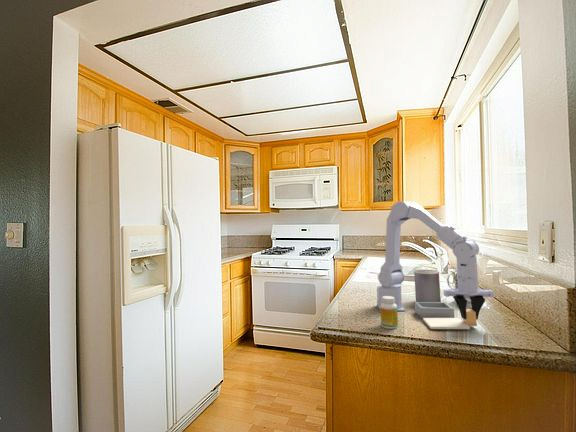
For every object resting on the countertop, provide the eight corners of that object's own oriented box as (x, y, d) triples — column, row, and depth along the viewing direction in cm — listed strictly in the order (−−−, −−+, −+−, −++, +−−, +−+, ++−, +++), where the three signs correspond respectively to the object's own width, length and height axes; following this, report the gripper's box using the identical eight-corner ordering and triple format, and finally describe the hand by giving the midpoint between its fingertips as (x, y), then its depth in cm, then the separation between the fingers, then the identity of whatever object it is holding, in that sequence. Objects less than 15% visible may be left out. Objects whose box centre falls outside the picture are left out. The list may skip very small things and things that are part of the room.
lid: (430, 328, 91) (429, 314, 91) (422, 319, 100) (421, 307, 100) (481, 329, 89) (480, 314, 89) (468, 319, 97) (467, 306, 97)
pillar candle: (427, 299, 127) (425, 265, 128) (446, 304, 118) (444, 268, 119) (410, 302, 124) (408, 267, 124) (428, 308, 115) (426, 270, 115)
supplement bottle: (396, 330, 92) (394, 300, 93) (379, 327, 95) (378, 298, 95) (399, 325, 97) (398, 296, 97) (383, 322, 100) (382, 294, 100)
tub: (421, 319, 102) (421, 308, 102) (415, 312, 110) (414, 301, 110) (454, 320, 100) (454, 308, 100) (445, 312, 108) (445, 302, 108)
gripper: (448, 279, 91) (450, 322, 91) (498, 279, 89) (500, 323, 88) (440, 275, 98) (442, 315, 98) (486, 275, 96) (488, 316, 95)
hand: (469, 318), depth 93 cm, fingers closed on lid, 3 cm apart
